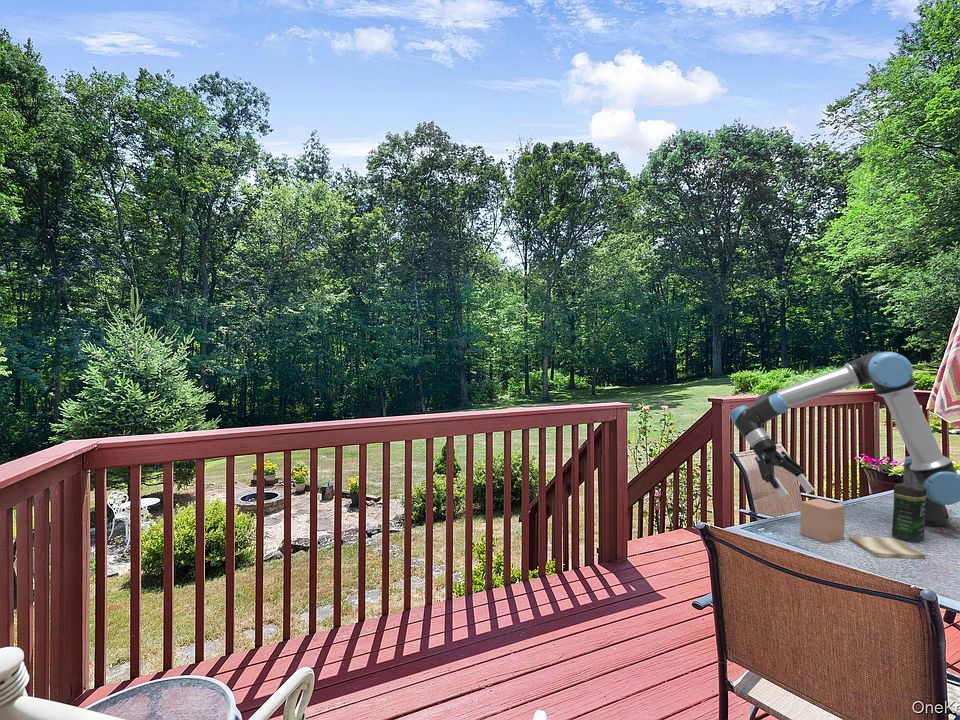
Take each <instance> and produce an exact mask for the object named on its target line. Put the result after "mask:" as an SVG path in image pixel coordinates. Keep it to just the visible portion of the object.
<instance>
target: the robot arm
mask: <svg viewBox="0 0 960 720" xmlns="http://www.w3.org/2000/svg"><path fill="white" fill-rule="evenodd" d="M913 373H914V368H913V365H912V363H911V361H910V360H909V359H908V358H907V357H905V355H902V354H900V353H898V352H893V351H874V352H870V353H868V354H865V355H863V356H861V357H858V358H855V359H853V360H851V361H849V362H848V361H847V362H846V363H845V364H844V366H843V367H840V368H837V369H834V370H831V371H829V372H826V373H823V374H821V375H817V376H814V377H811V378H809V379H808V378H807V379H806V380H803V381H800V382H797V383H794V384H792V385H789V386H785V387H783V388H780V389H777V390H773V391H771V392H769V393H762V394H760V395H758V396H757V397H756V399H755V400H754V401H755V402H754V405H752V406H751V407H749V406H747V405H744V404H743V405H740V406H737V407H736V408H734V409H733V410H731V412H730V414H729V417H730V419H731V421H732V422H733V424H734V426H735V427H736V429H737V430H738V431H739V433H740V434H741V435H742V437H743V439H745V440H746V442H747V444H748V445H749V447H750V448H752V450H753V452H754V454H755V455H756V456H755V457H754V459H755V462H756V463H757V466H758V469H759V474H760V477H761V479H762V480H763V481H765V482H766V483H770V485H771V486H772V487H773V489H774V490H775V491H776V492H777V494H778V495H779V497H780V498H781V499H784V498H785V497H786V496H788V495H789V492H787V489H786V488H784V485H783V484H782V483H781V481H780V480H779V479H778V477H775V467H777V466H778V467H779V468H780V467H781V468H783V469H784V470H786V471H787V472H789V473H791V474H792V475H794V476H796V477H795V479H796V480H797V481H798V483H799V484H800V486H801V487H802V488H803V490H804V491H805V493H807V494H811V493H812V492H813V491H815V489H814V487H813V486H812V485H811V483H810V482H809V480H808V478H807V477H806V476H805V475H804V474H805V473H806V470H805V468H803V467H802V466H801V465H800V464H798V462H796V461H795V460H793V458H791V457H790V456H789V455H788V454H787V453H786V452H785V451H784V450H782V451H781V452H779V451H778V450H777V445H776V443H775V442H774V440H773V439H772V438H771V437H770V435H769V434H768V432H767V431H766V430H765V429H764V427H763V425H764V424H766V423H768V422H769V421H771V420H773V419H775V418H777V417H778V416H780V415H783V414H784V413H785V412H787V411H788V410H789V409H790V408H791V407H792V406H796V405H799V404H801V403H804V402H808V401H810V400H814V399H817V398H820V397H822V396H826V395H829V394H832V393H834V392H837V391H841V390H844V389H846V388H847V389H848V388H850V387H852V386H855V387H862V386H864V385H869V384H872V387H873V389H874V391H875V395H876V396H879V397H882V398H883V399H884V402H885V403H886V405H887V408H888V410H889V413H890V415H891V417H892V419H893V421H894V424H895V425H896V427H897V431H898V432H899V434H900V436H901V439H902V441H903V443H904V446H905V448H906V451H907V452H908V454H909V456H906V457H905V458H904V460H903V461H904V463H903V483H904V482H908V481H910V482H915V483H920V484H922V485H923V486H924V487H925V488H926V502H925V526H928V527H929V526H930V527H947V526H949V525H950V519H951V518H950V515H949V513H948V510H947V507H946V506H950V505H954V504H957V503H959V502H960V474H958V472H957V470H956V468H955V465H953V462H952V459H951V458H949V457H947V456H944V455H943V453H942V451H941V449H940V447H939V445H938V442H937V440H936V438H935V435H934V433H933V431H932V429H931V426H930V424H929V423H928V420H927V418H926V415H925V414H924V412H923V409H922V407H921V405H920V403H919V401H918V399H917V396H916V394H915V392H914V388H915V387H916V385H917V383H916V381H915V379H914V376H913Z"/></svg>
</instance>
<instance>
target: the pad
mask: <svg viewBox="0 0 960 720" xmlns="http://www.w3.org/2000/svg"><path fill="white" fill-rule="evenodd" d="M849 540H850V542H852V543H853V544H854V545H855V546H857V547H859V548H861V549H862V550H863V551H865V552H867V553H869V554H870V555H872V556H874V557H875V558H892V559H895V558H896V559H917V560H918V559H919V560H923V559H924V560H926V554H924V553H923V552H921V551H918V550H917V549H915V548H913V547H911V546H910V545H908V544H907V543H904V542H902V540H900V539H898V538H896V537H877V536H876V537H874V536H873V537H871V536H870V537H867V536H848V541H849Z"/></svg>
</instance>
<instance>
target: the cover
mask: <svg viewBox="0 0 960 720" xmlns="http://www.w3.org/2000/svg"><path fill="white" fill-rule="evenodd" d="M845 509H846V506H845V505H843V504H840V503H835V502H832V501H828V500H824V499H821V498H814V499H808V500H804V501H803V500H802V501H801V502H800V524H799V525H800V527H799V529H800V530H799V533H800V535H802V534H803V536H805V535H806V537H808V536H809V537H808V538H811V537H812V539H814V538H815V539H814V540H817V539H818V540H817V541H820V542H824V543H826V544H827V543H832V542H836V541H840V540H844V539H845V520H846V519H845V515H846V513H845V511H846V510H845Z"/></svg>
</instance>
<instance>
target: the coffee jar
mask: <svg viewBox="0 0 960 720" xmlns="http://www.w3.org/2000/svg"><path fill="white" fill-rule="evenodd" d="M925 502H926V488H925V487H924V486H923V485H922V484H920V483H915V482H910V481H908V482H904V481H903V482H900V483H897V484H895V485H894V487H893V511H892V525H891V536H892V537H893V538H895V539H897V540H899V541H905V542H912V543H913V542H914V543H917V542H918V543H919V542H921V541H922V540H923V539H925V530H926V529H925V526H926V525H925Z"/></svg>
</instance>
